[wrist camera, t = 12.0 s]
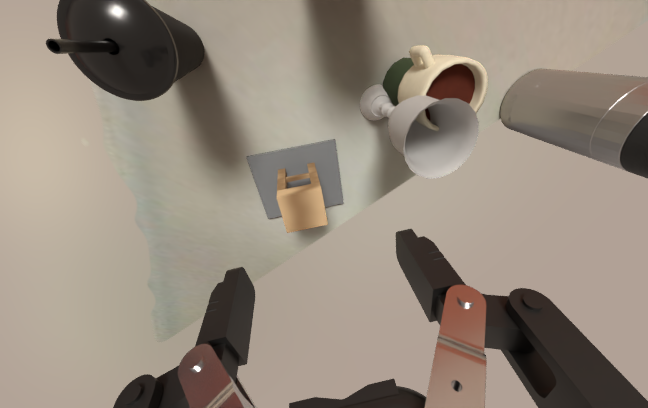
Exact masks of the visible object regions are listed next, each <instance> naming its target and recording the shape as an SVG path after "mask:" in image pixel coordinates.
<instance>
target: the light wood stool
mask: <svg viewBox="0 0 648 408" xmlns="http://www.w3.org/2000/svg"><path fill="white" fill-rule="evenodd" d="M307 166H308V171H309V173H304V174H299V175H294V176H289V177H287V173H286V169H285V168H284V169H279V170H278V179H277V201H278V205H279V208H280V211H281V214H282V218H283V221H284V224H285V227H286V231H287V233H289V232H294V231H299V230H304V229H309V228H313V227H318V226H323V225H328V222H327V217H326V211H325V206H324V200H323V195H322V189H321V186H320V182H319V178H318V174H317V171H316V167H315V163H309V164H307ZM306 178H310V181H311V184H308V185H303V186H298V187H294V188H289V189H287V182H291V181H296V180H301V179H306Z"/></svg>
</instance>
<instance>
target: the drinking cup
mask: <svg viewBox="0 0 648 408" xmlns="http://www.w3.org/2000/svg"><path fill="white" fill-rule="evenodd" d="M57 25H58V30H59V34H60V37H61V39H48V40H47V41H46V45H47V47H48V49H49V50H50V51H52V52H53V53H56V54H66V53H68V54H69V56H70V57H71V59H72V60H73V62H74V63H75V64H76V66H77V67H78V68H79V69H80V70H81V71H82V72H83V74H84V75H86V76H87V77H88V78H89V79H90V80H91V81H92V82H94V83H95V84H96V85H98V86H99V87H100V88H102V89H104V90H105V91H107V92H109V93H111V94H113V95H116V96H118V97H121V98H124V99H128V100H135V101H145V100H151V99H154V98H157V97H159V96H161V95H163V94H164V93H166V92H167V91H168V90H169V89H170V88H171V86H172V85H173V83H174V82H175V81H177V80H178V79H180V78H181V77H183V76H184V75H186V74H187V73H189V72H190V71H192V70H193V69H195V68H196V67H198V66H199V65H200V64H201V62H202V60H203V57H204V48H203V44H202V41H201V39H200V38H199V36H198V35H197V33H196V32H195V31H194V30H193V29H192V28H190V27H189V26H187V25H186V24H184V23H182V22H180V21H178V20H176V19H175V18H173V17H171V16H169V15H167V14H165V13H164V12H162V11H160V10H158V9H156V8H154V7H153V6H151V5H150V4H149V3H148V2H146V1H145V0H60V1H59V5H58V9H57Z"/></svg>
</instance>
